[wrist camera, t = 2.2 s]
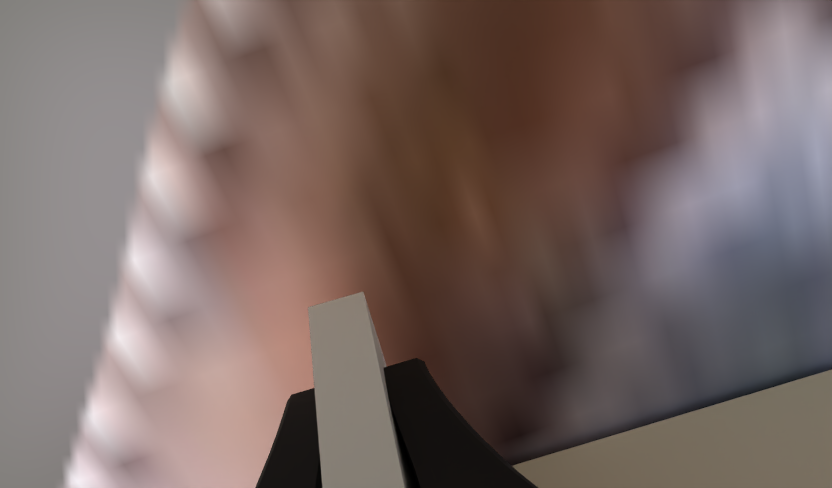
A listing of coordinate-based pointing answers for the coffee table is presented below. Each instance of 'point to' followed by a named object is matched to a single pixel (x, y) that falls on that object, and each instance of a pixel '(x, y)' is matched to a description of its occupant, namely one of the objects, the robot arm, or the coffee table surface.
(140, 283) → the coffee table surface
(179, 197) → the coffee table surface
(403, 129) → the coffee table surface
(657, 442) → the cream block
